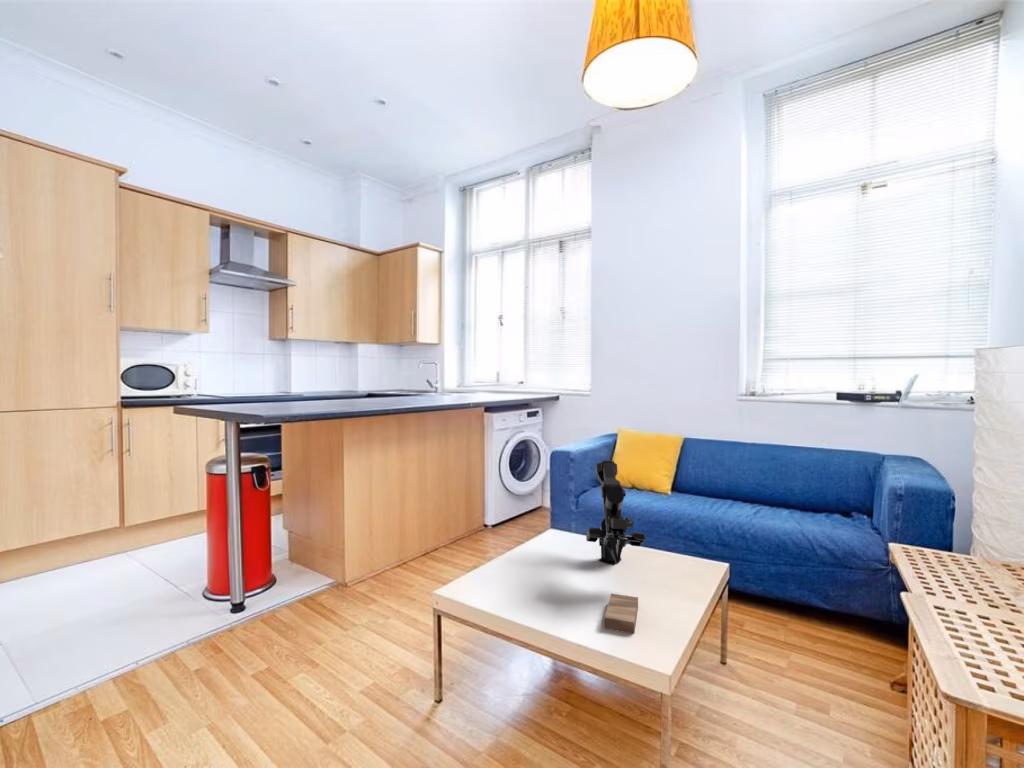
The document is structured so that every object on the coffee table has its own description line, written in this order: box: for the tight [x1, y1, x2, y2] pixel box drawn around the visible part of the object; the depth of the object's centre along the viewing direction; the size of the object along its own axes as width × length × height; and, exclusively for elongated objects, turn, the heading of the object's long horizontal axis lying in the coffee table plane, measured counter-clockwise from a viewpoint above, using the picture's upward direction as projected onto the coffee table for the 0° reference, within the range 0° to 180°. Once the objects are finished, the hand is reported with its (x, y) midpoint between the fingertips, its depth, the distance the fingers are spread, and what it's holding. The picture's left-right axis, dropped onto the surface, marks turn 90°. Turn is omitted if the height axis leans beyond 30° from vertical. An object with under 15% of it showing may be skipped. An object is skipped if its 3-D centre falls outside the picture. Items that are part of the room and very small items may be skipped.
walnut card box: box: [603, 593, 639, 634], centre depth 129 cm, size 4×8×15 cm
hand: (617, 562), depth 143 cm, fingers closed
